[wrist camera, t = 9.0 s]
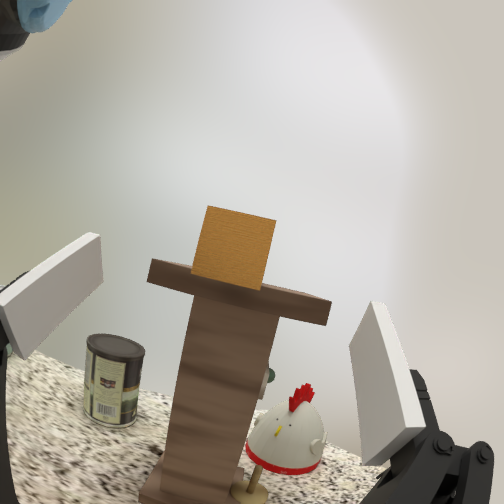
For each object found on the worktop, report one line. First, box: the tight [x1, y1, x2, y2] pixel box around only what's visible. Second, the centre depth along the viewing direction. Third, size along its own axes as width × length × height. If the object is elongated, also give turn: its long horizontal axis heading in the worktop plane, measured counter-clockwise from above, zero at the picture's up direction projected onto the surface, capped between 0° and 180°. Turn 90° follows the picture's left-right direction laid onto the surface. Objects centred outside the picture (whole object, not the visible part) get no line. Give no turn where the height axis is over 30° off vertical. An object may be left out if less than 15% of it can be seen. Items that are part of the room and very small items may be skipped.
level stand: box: [139, 259, 332, 504], centre depth 29 cm, size 15×17×30 cm
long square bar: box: [191, 206, 276, 291], centre depth 26 cm, size 24×3×3 cm, turn 178°
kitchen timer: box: [246, 383, 327, 475], centre depth 43 cm, size 14×14×15 cm
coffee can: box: [83, 334, 145, 428], centre depth 41 cm, size 10×10×14 cm
